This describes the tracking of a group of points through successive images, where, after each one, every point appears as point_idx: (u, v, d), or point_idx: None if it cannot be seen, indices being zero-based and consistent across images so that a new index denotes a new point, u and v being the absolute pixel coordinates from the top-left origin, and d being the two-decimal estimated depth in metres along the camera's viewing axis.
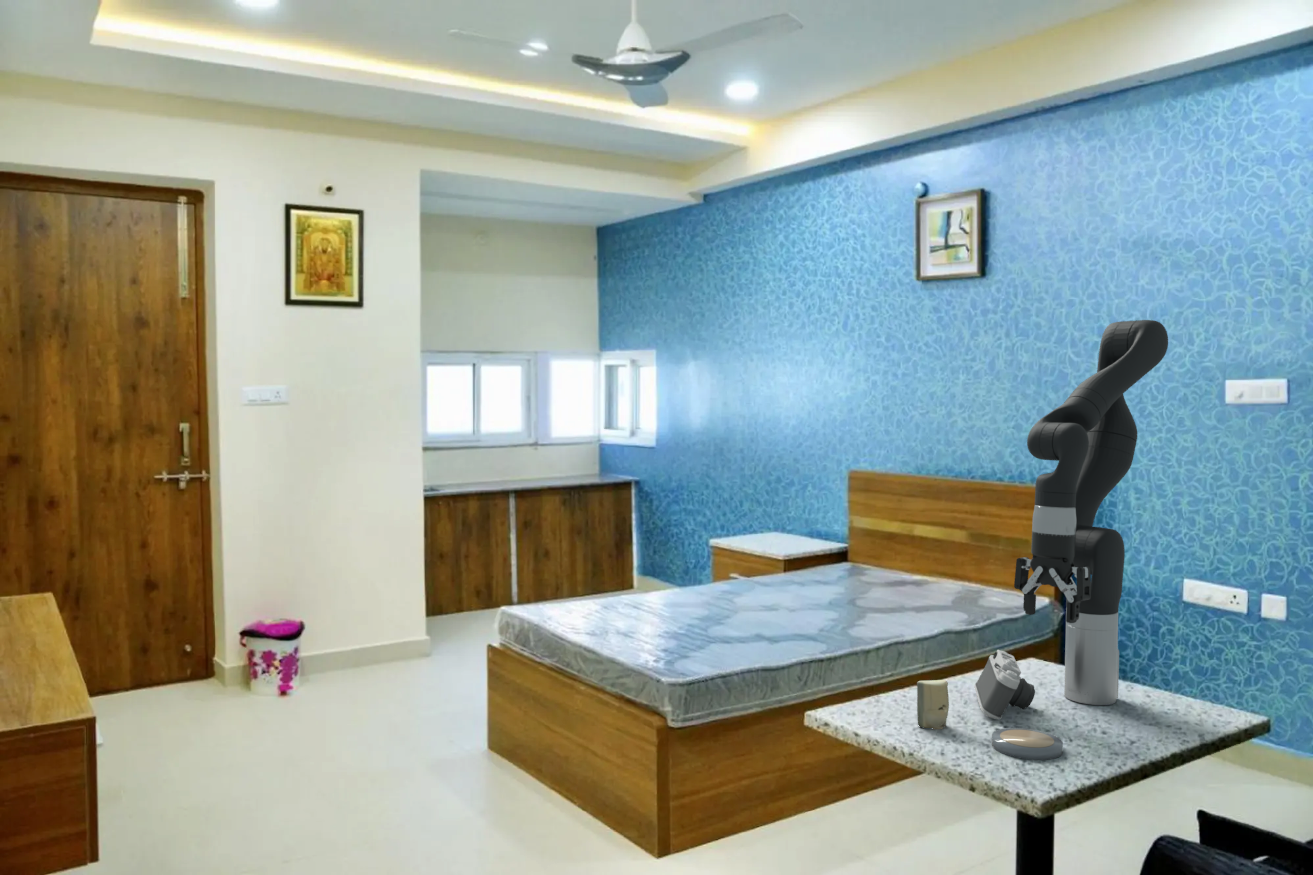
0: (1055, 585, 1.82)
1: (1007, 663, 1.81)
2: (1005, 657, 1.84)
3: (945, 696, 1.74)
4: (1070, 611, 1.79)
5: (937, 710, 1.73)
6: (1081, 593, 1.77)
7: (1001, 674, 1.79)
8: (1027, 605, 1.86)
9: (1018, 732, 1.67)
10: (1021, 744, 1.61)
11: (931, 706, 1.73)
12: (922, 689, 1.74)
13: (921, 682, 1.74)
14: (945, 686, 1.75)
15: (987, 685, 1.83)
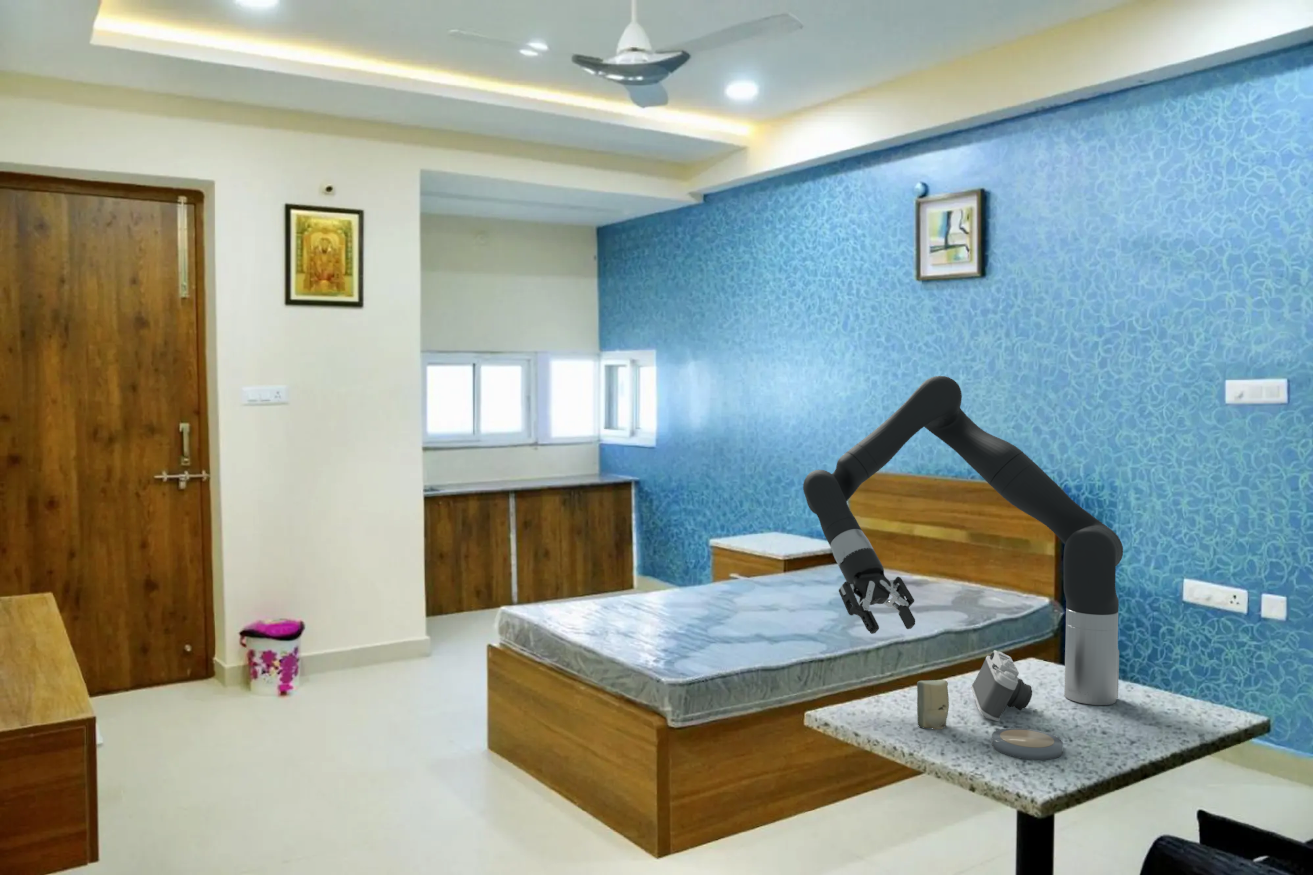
0: (887, 596, 1.88)
1: (1005, 664, 1.80)
2: (1002, 658, 1.84)
3: (945, 696, 1.74)
4: (909, 614, 1.87)
5: (937, 710, 1.73)
6: (910, 596, 1.90)
7: (999, 675, 1.78)
8: (874, 619, 1.83)
9: (1018, 732, 1.67)
10: (1021, 744, 1.61)
11: (931, 706, 1.73)
12: (922, 689, 1.74)
13: (921, 682, 1.74)
14: (945, 686, 1.75)
15: (985, 686, 1.83)
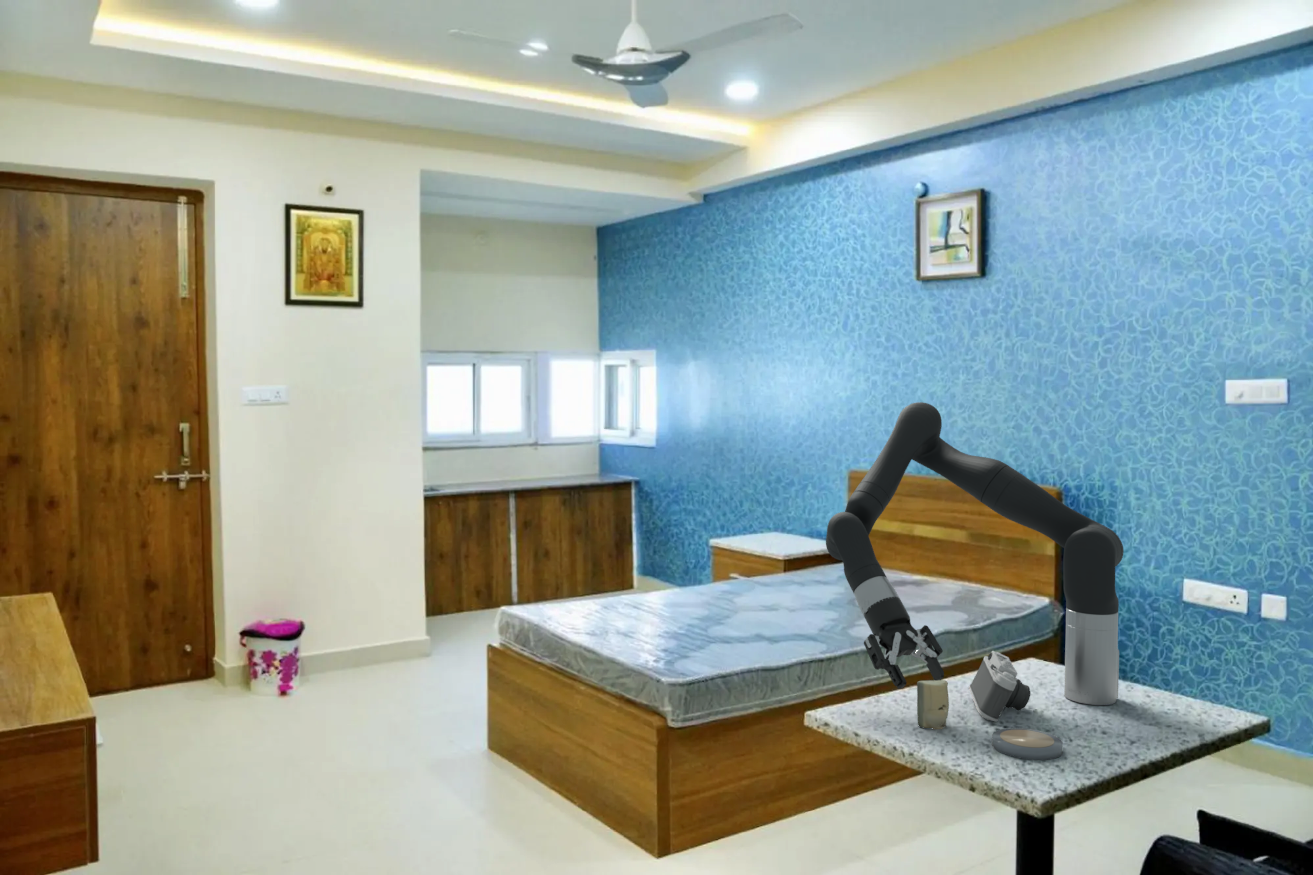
0: (914, 648, 1.82)
1: (1003, 664, 1.80)
2: (1001, 658, 1.84)
3: (945, 696, 1.74)
4: None
5: (937, 710, 1.73)
6: (938, 646, 1.84)
7: (998, 676, 1.78)
8: (901, 674, 1.77)
9: (1018, 732, 1.67)
10: (1021, 744, 1.61)
11: (931, 706, 1.73)
12: (922, 689, 1.74)
13: (921, 682, 1.74)
14: (945, 686, 1.75)
15: (983, 687, 1.82)
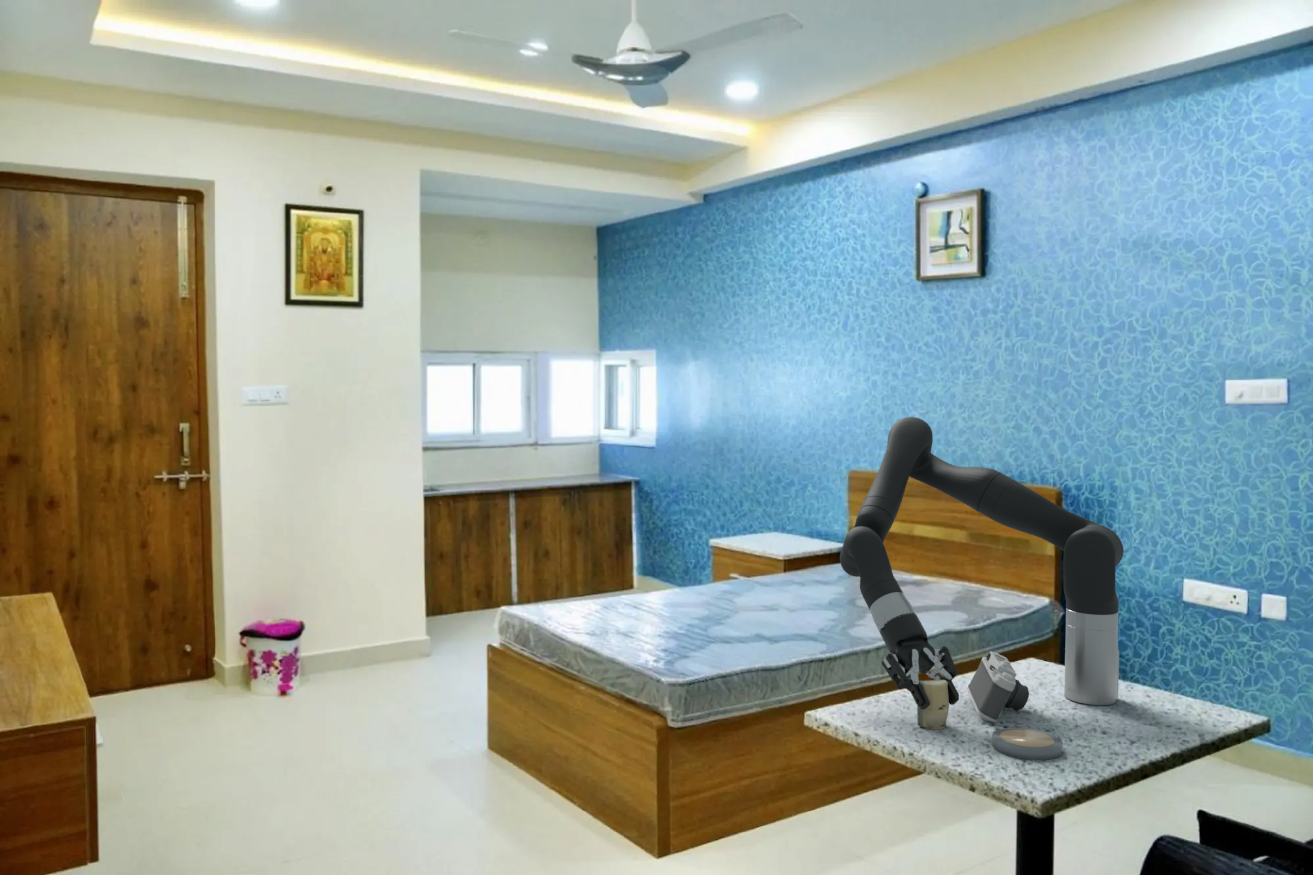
0: (928, 666, 1.77)
1: (1002, 665, 1.79)
2: (999, 659, 1.83)
3: (945, 696, 1.74)
4: None
5: (937, 710, 1.73)
6: (953, 668, 1.79)
7: (997, 676, 1.77)
8: (925, 694, 1.72)
9: (1018, 732, 1.67)
10: (1021, 744, 1.61)
11: (931, 706, 1.73)
12: None
13: (921, 682, 1.74)
14: (945, 686, 1.75)
15: (982, 687, 1.82)
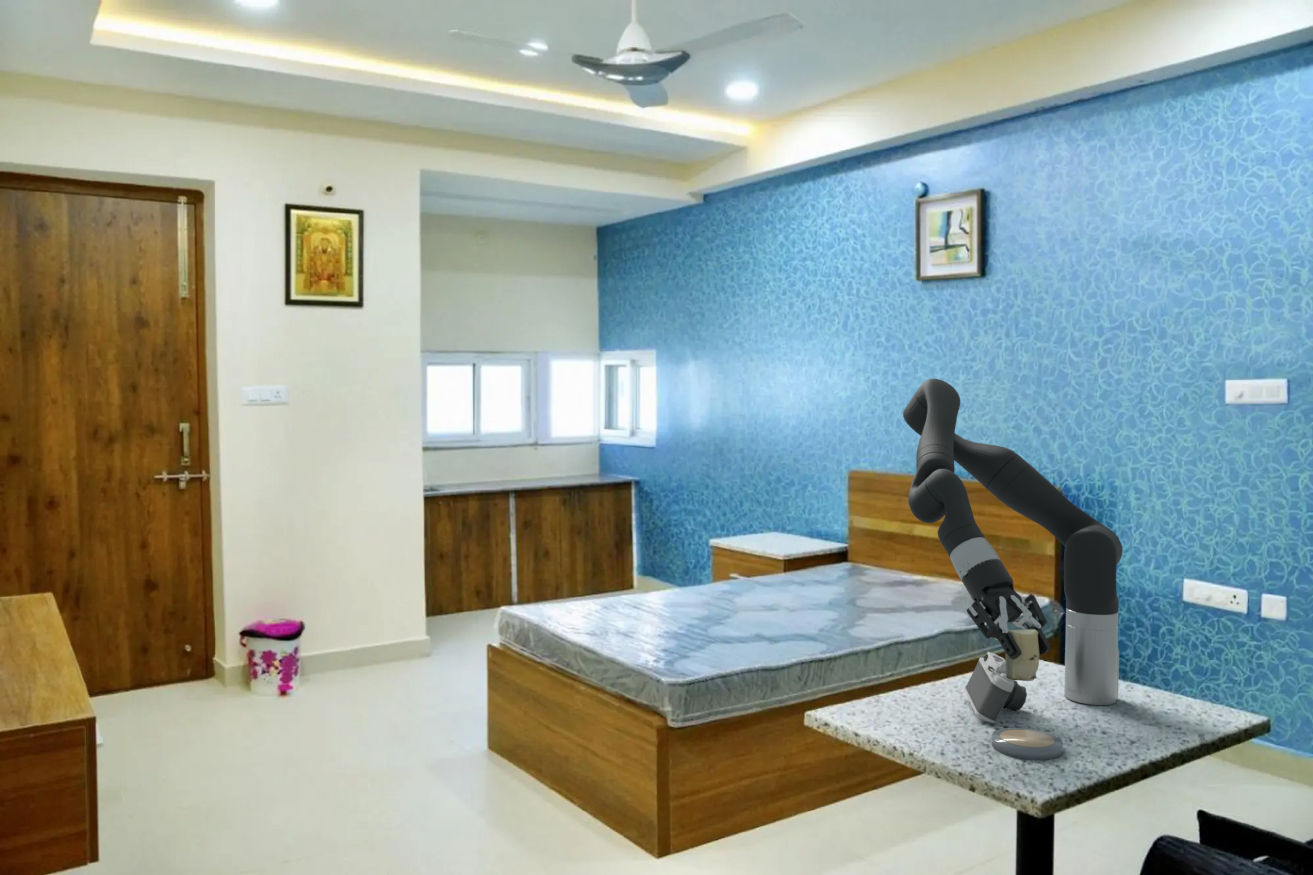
0: (1016, 614, 1.67)
1: (1001, 666, 1.79)
2: (997, 659, 1.83)
3: (1036, 646, 1.63)
4: None
5: (1028, 660, 1.62)
6: (1042, 617, 1.68)
7: (996, 677, 1.77)
8: (1015, 643, 1.62)
9: (1018, 732, 1.67)
10: (1021, 744, 1.61)
11: (1022, 657, 1.62)
12: None
13: (1010, 631, 1.64)
14: (1036, 635, 1.64)
15: (980, 688, 1.82)
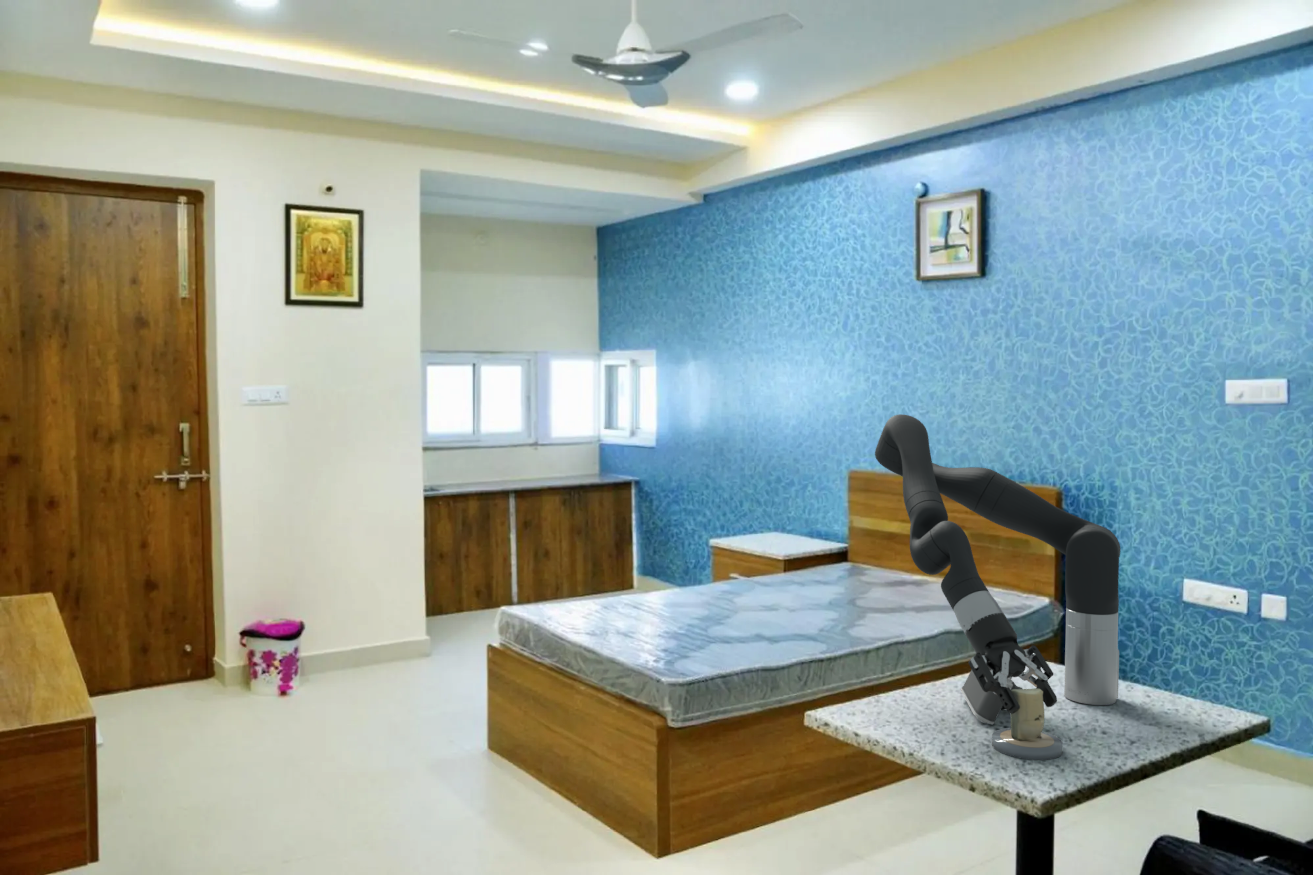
0: (1023, 669, 1.67)
1: None
2: None
3: (1041, 706, 1.63)
4: (1050, 690, 1.65)
5: (1033, 720, 1.62)
6: (1048, 668, 1.68)
7: None
8: (1014, 698, 1.61)
9: None
10: (1021, 744, 1.61)
11: (1027, 717, 1.62)
12: (1016, 698, 1.63)
13: (1015, 691, 1.64)
14: (1041, 695, 1.64)
15: (978, 689, 1.81)
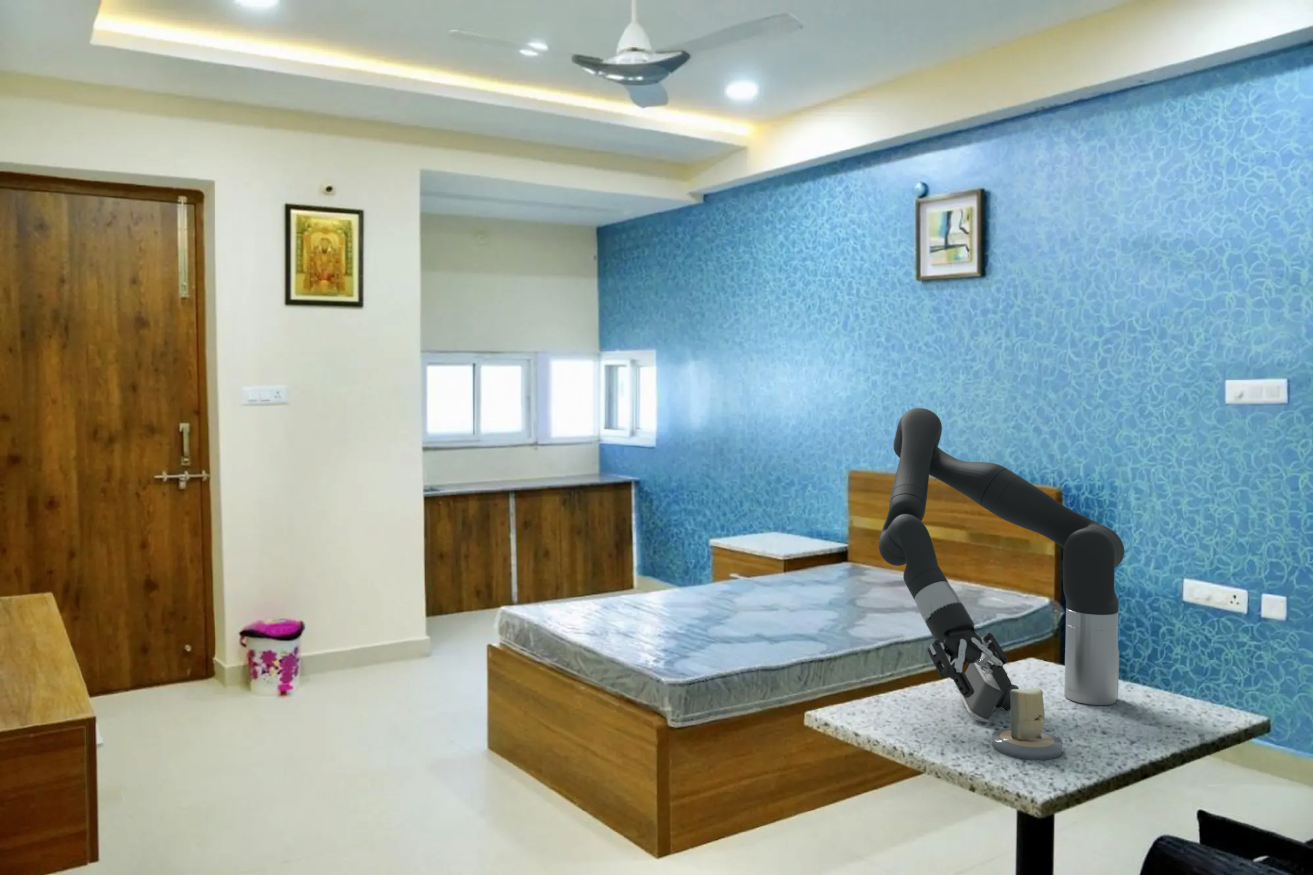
0: (979, 655, 1.75)
1: None
2: None
3: (1041, 706, 1.63)
4: None
5: (1033, 720, 1.62)
6: (1004, 654, 1.77)
7: (988, 676, 1.77)
8: (969, 683, 1.70)
9: None
10: (1021, 744, 1.61)
11: (1027, 717, 1.62)
12: (1016, 698, 1.63)
13: (1015, 691, 1.64)
14: (1040, 695, 1.64)
15: (973, 687, 1.82)
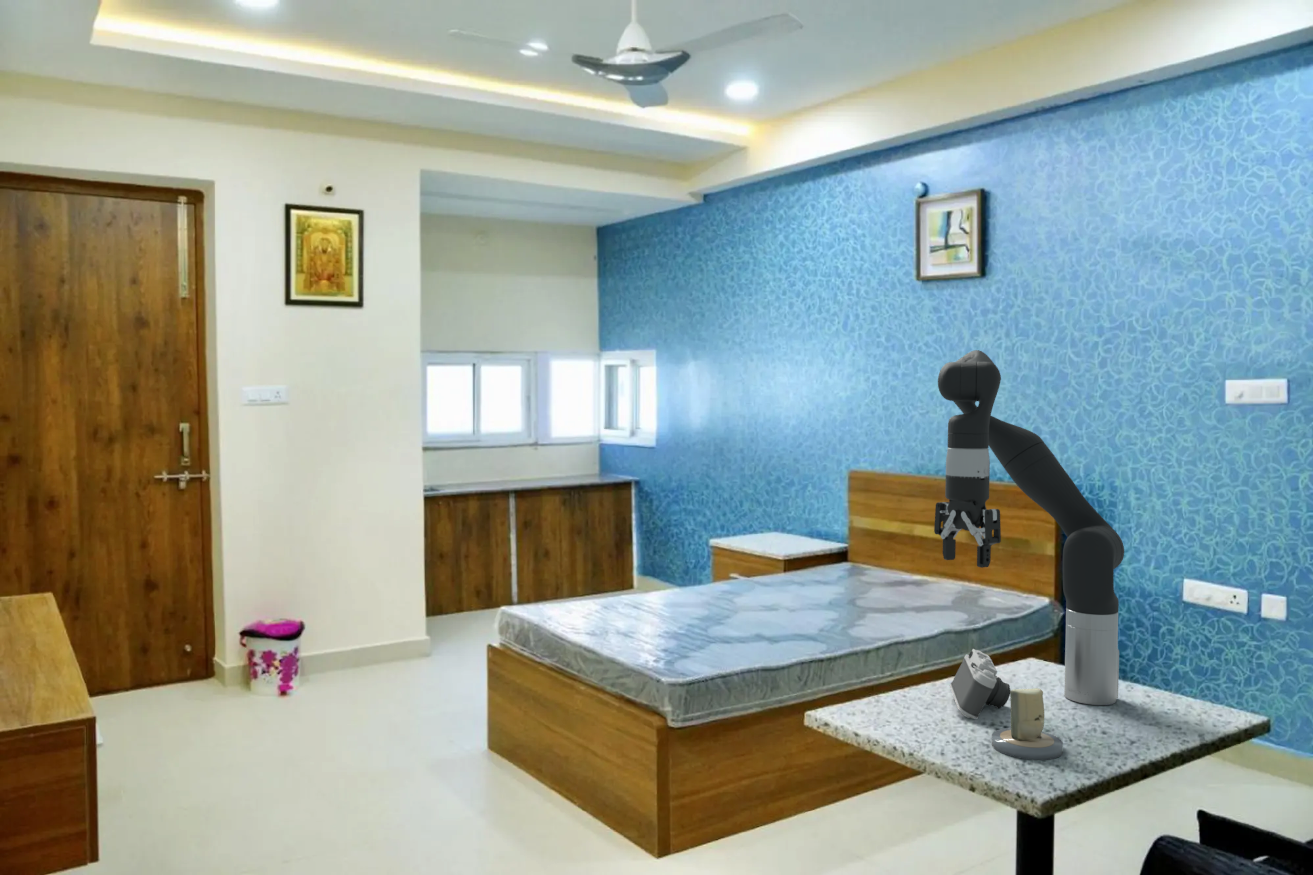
0: None
1: (984, 662, 1.81)
2: (981, 656, 1.85)
3: (1041, 706, 1.63)
4: None
5: (1033, 720, 1.62)
6: None
7: (978, 673, 1.79)
8: None
9: None
10: (1021, 744, 1.61)
11: (1027, 717, 1.62)
12: (1016, 698, 1.63)
13: (1015, 691, 1.64)
14: (1041, 695, 1.64)
15: (963, 685, 1.84)
